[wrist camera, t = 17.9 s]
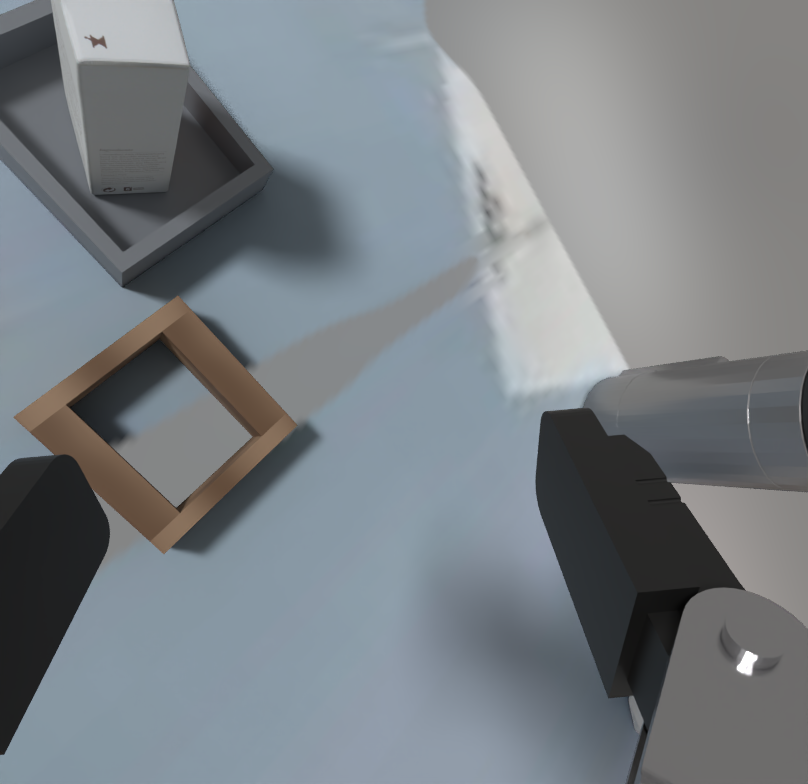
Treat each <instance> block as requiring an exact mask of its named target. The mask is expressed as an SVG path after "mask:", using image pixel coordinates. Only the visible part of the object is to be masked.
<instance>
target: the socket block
mask: <svg viewBox="0 0 808 784" xmlns="http://www.w3.org/2000/svg"><path fill="white" fill-rule="evenodd" d="M159 339H160V340H161V341H162V342H163V343H164V345H165V346H166V347H167V348H168V349H169V350H170V351H171V352H172V353H173V354H174V355H175V356H176V357H177V358H178V359H179V360H180V361H181V362H182V363H183V364H184V365H185V366H186V368H187V369H188V370H189V371H190V372H191V373H192V374H193V375H194V376H195V377H196V378H197V379H198V380H199V381H200V382H201V383H202V384H203V385H204V386H205V387H206V388H207V389H208V391H209V392H210V393H211V394H212V395H213V396H214V397H215V398H216V399H217V400H218V401H219V402H220V403H221V404H222V405H223V406H224V407H225V408H226V409H227V410H228V411H229V412H230V413H231V415H232V416H233V417H234V418H235V419H236V420H237V421H238V422H240V424H241V425H242V426H243V427H244V428H245V429H246V430H247V431H248V432H249V433H250V434H251V435H252V436H253V437H252V438H251V439H250V440H249V441H248V442H247V443H246V444H245V445H244V446H243V447H241V448H240V449H239V450H238V451H237V452H236V453H235V454H234V455H233V456H232V457H231V458H230V459H228V460H227V461H226V463H224V464H223V465H222V466H221V467H220V468H219V469H218V470H217V471H216V472H215V473H213V474H212V475H211V477H209V478H208V479H207V480H206V481H205V482H204V483H203V484H202V485H201V486H200V487H198V488H197V489H196V490H195V491H194V492H193V493H192V494H191V495H190V496H189V497H188V498H187V499H186V500H185V501H183V502H182V503H181V504H180V505H179V506H178V507H177V508H176V507H174V506H173V505H172V504H171V503H170V502H169V501H168V500H167V499H166V498H165V497H164V496H163V495H162V494H161V493H160V492H159V491H158V490H156V489H155V488H154V487H153V486H152V485H151V484H150V483H149V482H148V481H147V480H146V479H145V478H144V477H143V476H142V475H141V474H140V473H138V472H137V471H136V470H135V469H134V468H133V467H132V466H131V465H130V464H129V463H128V462H127V461H126V460H125V459H124V458H123V457H121V456H120V454H118V453H117V452H116V451H115V450H114V449H113V448H112V447H111V446H110V445H109V444H108V443H107V442H106V441H105V440H104V439H103V438H102V437H100V436H99V435H98V434H97V433H96V432H95V431H94V430H93V429H92V428H91V427H90V426H89V425H88V424H87V423H86V422H85V421H84V420H83V419H81V418H80V417H79V416H78V415H77V414H76V413H75V412H74V411H73V410H72V409H71V408H70V407H72V406H73V405H74V404H75V403H77V402H78V401H79V400H81V399H82V398H83V397H85V396H86V395H87V394H89V393H90V392H91V391H92V390H94V389H95V388H96V387H98V386H99V385H100V384H102V383H103V382H104V381H105V380H107V379H108V378H109V377H111V376H112V375H113V374H115V373H116V372H117V371H119V370H120V369H121V368H122V367H124V366H125V365H126V364H128V363H129V362H130V361H132V360H133V359H134V358H135V357H137V356H138V355H139V354H141V353H142V352H143V351H145V350H146V349H147V348H149V347H150V346H151V345H152V344H154V343H155V342H156V341H158V340H159ZM14 418H15V419H16V420H17V421H18V422H19V423H20V424H21V425H22V426H23V427H25V428H26V429H27V430H28V431H29V432H30V433H31V434H32V435H33V436H34V437H36V438H37V439H38V440H39V441H40V442H41V443H42V444H43V445H44V446H45V447H47V448H48V449H49V450H50V451H51V452H52V453H53V454H54V455H62V454H66V455H70V456H72V457H73V458H74V459H75V460H76V461H77V463H78V464H79V466H80V468H81V470H82V472H83V473H84V475H85V477H86V479H87V481H88V483H89V485H90V486H91V488H92V489H93V490H94V491H95V492H96V493H97V494H98V495H99V496H100V497H102V498H103V499H104V500H105V501H106V502H107V503H108V504H109V505H111V506H112V507H113V508H114V509H115V510H116V511H117V512H118V513H119V514H120V515H121V516H122V517H124V518H125V519H126V520H127V521H128V522H129V523H130V524H131V525H132V526H133V527H135V528H136V529H137V530H138V531H139V532H140V533H141V534H142V535H143V536H144V537H146V538H147V539H148V540H149V541H150V542H151V543H152V544H153V545H154V546H155V547H157V548H158V549H159V550H160V551H161V552H162V553H163V554H165V553H166V552H167V551H168V550H169V549H170V548H171V547H172V546H173V545H174V544H175V543H176V542H177V541H178V540H179V539H180V538H181V537H182V536H183V535H184V534H185V533H186V532H187V531H188V530H189V529H190V528H192V527H193V526H194V525H195V524H196V523H197V522H198V521H199V520H200V519H201V518H202V517H203V516H204V515H205V514H206V513H207V512H208V511H209V510H210V509H211V508H212V507H213V506H214V505H215V504H216V503H217V502H218V501H219V500H221V499H222V498H223V497H224V496H225V495H226V494H227V493H228V492H229V491H230V490H231V489H232V488H233V487H234V486H235V485H236V484H237V483H238V482H239V481H240V480H241V479H242V478H243V477H244V476H245V475H246V474H247V473H249V472H250V471H251V470H252V469H253V468H254V467H255V466H256V465H257V464H258V463H259V462H260V461H261V460H262V459H263V458H264V457H265V456H266V455H267V454H268V453H269V452H270V451H271V450H272V449H273V448H274V447H275V446H276V445H278V444H279V443H280V442H281V441H282V440H283V439H284V438H285V437H286V436H287V435H288V434H289V433H290V432H291V431H292V430H293V429H294V428H295V427H296V426H297V424H296V423H295V422H294V421H293V420H292V419H291V418H290V417H289V416H288V414H287V413H286V412H285V411H284V410H283V409H282V408H281V407H280V406H279V405H278V404H277V402H276V401H274V399H273V398H272V397H271V396H270V395H269V394H268V393H267V392H266V391H265V389H263V387H262V386H261V385H260V384H259V383H258V382H257V381H256V380H255V379H254V378H253V376H252V375H251V374H250V373H249V372H248V371H247V370H246V369H245V368H244V367H243V366H242V364H241V363H240V362H239V361H238V360H237V359H236V358H235V357H234V356H233V355H232V354H231V353H230V351H229V350H228V349H227V348H226V347H225V346H224V345H223V344H222V343H221V342H220V341H219V340H218V338H217V337H216V336H215V335H214V334H213V333H212V332H211V331H210V330H209V329H208V328H207V327H206V325H205V324H204V323H203V322H202V321H201V320H200V319H199V318H198V317H197V316H196V315H195V313H194V312H193V311H192V310H191V309H190V308H189V307H188V306H187V305H186V304H185V303H184V302H183V300H182V299H181V298H180V297H179V296H177V297H175V298H174V299H173V300H171V301H170V302H169V303H167V304H166V305H164V306H163V307H162V308H160V309H159V310H158V311H156V312H155V313H154V314H152V315H151V316H150V317H148V318H147V319H146V320H144V321H143V322H141V323H140V324H139V325H137V326H136V327H135V328H133V329H132V330H131V331H129V332H128V333H127V334H125V335H124V336H123V337H121V338H120V339H118V340H117V341H116V342H114V343H113V344H112V345H110V346H109V347H108V348H106V349H105V350H104V351H102V352H101V353H100V354H98V355H97V356H95V357H94V358H93V359H91V360H90V361H89V362H87V363H86V364H85V365H83V366H82V367H81V368H79V369H78V370H77V371H75V372H74V373H72V374H71V375H70V376H68V377H67V378H66V379H64V380H63V381H62V382H60V383H59V384H58V385H56V386H55V387H54V388H52V389H51V390H49V391H48V392H47V393H45V394H44V395H43V396H41V397H40V398H39V399H37V400H36V401H35V402H33V403H32V404H31V405H29V406H28V407H26V408H25V409H24V410H22V411H21V412H20V413H18V414H17V415H16V416H14Z"/></svg>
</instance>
